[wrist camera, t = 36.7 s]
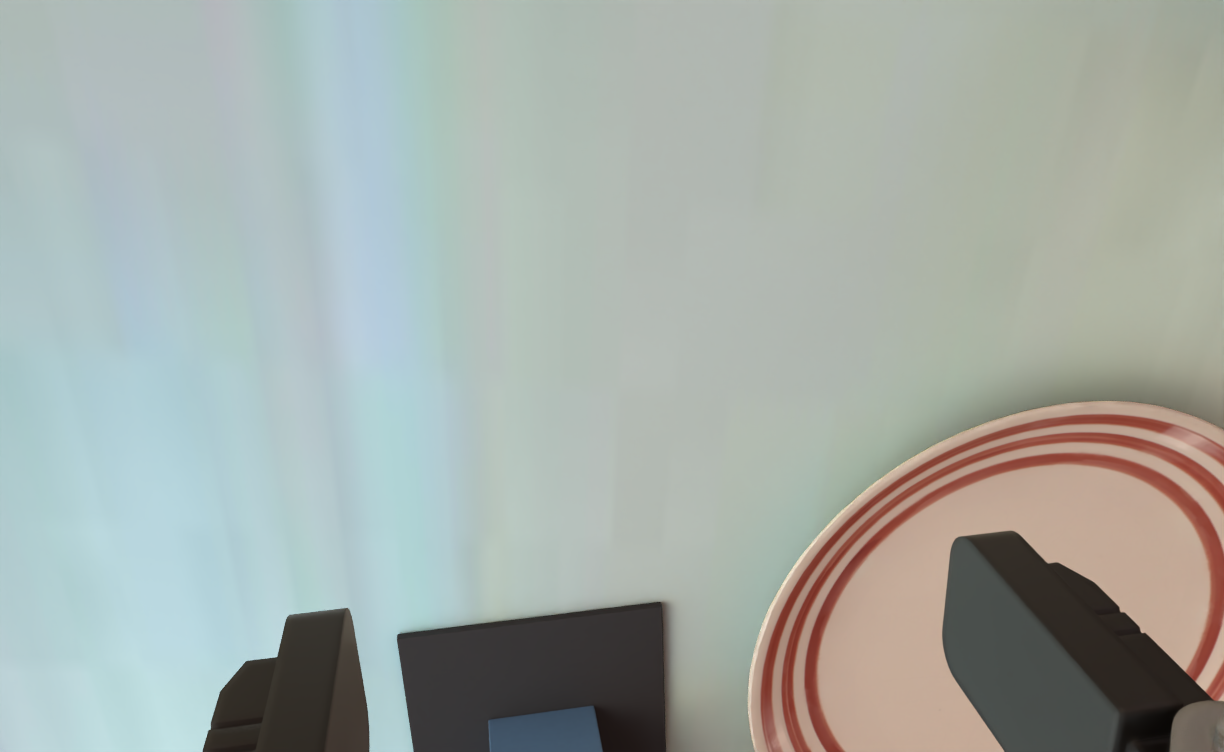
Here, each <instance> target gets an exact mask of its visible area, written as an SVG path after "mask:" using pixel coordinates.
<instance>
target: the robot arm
mask: <svg viewBox="0 0 1224 752" xmlns="http://www.w3.org/2000/svg"><path fill="white" fill-rule="evenodd" d="M942 641H943V649H944V654H945V658H946V661H947V664H948V667H949V669H950V672H951V674H952V676H953V677H954V679H955V681H956V682H957V684H958V685H959V686H960V688H961V689H962V691H963V692H964V694H965V695H966V697H967V698H968V699H969V701H970V702H971V704H972V705H973V707H974V708H975V710H976V711H977V712H978V714H979V715H980V717H981V718H982V720H983V721H984V723H985V724H986V725H987V727H988V728H989V730H990V731H991V733H992V734H993V736H994V737H995V739H996V740H997V741H998V743H999V744H1000V746H1001V747H1002V749H1003V750H1004V752H1224V701H1214V700H1213V699H1212V698H1211V697H1210V696H1209V695H1208V694H1207V693H1206V692H1205V691H1204V690H1203V689H1202V688H1201V687H1200V686H1199V685H1198V684H1197V683H1196V682H1195V681H1194V680H1193V679H1192V678H1191V677H1190V676H1189V675H1188V674H1187V673H1186V672H1185V671H1184V670H1183V669H1182V668H1181V667H1180V666H1179V665H1178V664H1177V663H1176V662H1175V661H1174V660H1173V659H1172V658H1171V657H1170V656H1169V655H1168V654H1167V653H1166V652H1165V651H1164V650H1163V649H1162V648H1161V647H1160V646H1158V645H1157V644H1156V643H1155V642H1154V641H1153V640H1152V639H1151V638H1150V637H1149V636H1148V635H1147V634H1146V633H1141V631H1140V627H1139V626H1138V625H1137V624H1136V623H1135V622H1134V621H1133V620H1132V619H1131V618H1130V617H1129V616H1128V615H1127V614H1126V613H1125V612H1120V607H1119V606H1118V605H1117V604H1116V603H1115V602H1114V601H1113V600H1112V599H1111V598H1110V597H1109V596H1108V595H1107V594H1106V593H1105V592H1104V591H1103V590H1102V589H1101V588H1100V587H1099V586H1098V585H1097V584H1096V583H1095V582H1093V581H1091V580H1089V579H1088V578H1086V577H1084V576H1082V575H1080V574H1078V573H1077V572H1075V571H1073V570H1071V569H1069V568H1068V567H1066V566H1064V565H1062V564H1060V563H1058V562H1055V563H1047V562H1046V561H1045V560H1044V559H1043V558H1042V557H1041V556H1040V555H1039V554H1038V553H1037V552H1036V551H1035V550H1034V549H1033V548H1032V547H1031V546H1030V545H1029V544H1028V543H1027V542H1026V541H1025V539H1024V538H1023V537H1022V536H1021V535H1019V534H1018V533H1017V532H1015V531H1011V530H1010V531H1001V532H993V533H985V534H976V535H968V536H960V537H957V538H956V539H955V540H954V542H953V544H952V547H951V551H950V559H949V569H948V579H947V588H946V598H945V608H944V617H943V627H942ZM203 752H369V721H368V711H367V703H366V697H365V691H364V685H363V679H362V673H361V667H360V661H359V656H358V650H357V644H356V638H355V632H354V626H353V620H352V616H351V613H350V610H349V609H348V608H344V609H335V610H327V611H318V612H310V613H302V614H293V615H289V616H288V617H287V619H286V622H285V627H284V631H283V635H282V639H281V644H280V648H279V652H278V657H276V658H268V659H260V660H252V661H246V662H245V663H244V664H243V666H242V667H241V668H240V669H239V670H238V671H237V673H236V674H235V675H234V676H233V677H232V678H231V680H230V681H229V682H228V683H227V684H226V685H225V687H224V688H223V689H222V690H221V691H220V694H219V698H218V701H217V704H216V708H215V711H214V714H213V718H212V721H211V730H209V731H208V734H207V738H206V741H205V745H204V748H203Z"/></svg>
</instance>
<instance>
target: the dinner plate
mask: <svg viewBox="0 0 1224 752" xmlns="http://www.w3.org/2000/svg"><path fill="white" fill-rule="evenodd" d="M1010 530H1011V531H1015V532H1017V533H1018V534H1019V535H1021V536H1022V537H1023V538H1024V539H1025V541H1026V542H1027V543H1028V544H1029V545H1030V546H1031V547H1032V548H1033V549H1034V550H1035V551H1036V552H1037V553H1038V554H1039V555H1040V556H1041V557H1042V558H1043V559H1044V560H1045V561H1046V562H1047V563H1055V562H1058V563H1060V564H1062V565H1064V566H1066V567H1068V568H1069V569H1071V570H1073V571H1075V572H1077V573H1078V574H1080V575H1082V576H1084V577H1086V578H1088V579H1089V580H1091V581H1093V582H1095V583H1096V584H1097V585H1098V586H1099V587H1100V588H1101V589H1102V590H1103V591H1104V592H1105V593H1106V594H1107V595H1108V596H1109V597H1110V598H1111V599H1112V600H1113V601H1114V602H1115V603H1116V604H1117V605H1118V606H1119V607H1120V612H1125V613H1126V614H1127V615H1128V616H1129V617H1130V618H1131V619H1132V620H1133V621H1134V622H1135V623H1136V624H1137V625H1138V626H1139V627H1140V631H1141V633H1146V634H1147V635H1148V636H1149V637H1150V638H1151V639H1152V640H1153V641H1154V642H1155V643H1156V644H1157V645H1158V646H1160V647H1161V648H1162V649H1163V650H1164V651H1165V652H1166V653H1167V654H1168V655H1169V656H1170V657H1171V658H1172V659H1173V660H1174V661H1175V662H1176V663H1177V664H1178V665H1179V666H1180V667H1181V668H1182V669H1183V670H1184V671H1185V672H1186V673H1187V674H1188V675H1189V676H1190V677H1191V678H1192V679H1193V680H1194V681H1195V682H1196V683H1197V684H1198V685H1199V686H1200V687H1201V688H1202V689H1203V690H1204V691H1205V692H1206V693H1207V694H1208V695H1209V696H1210V697H1211V698H1212V699H1213V700H1214V701H1224V429H1222V428H1220V427H1218V426H1216V425H1214V424H1212V423H1210V422H1208V421H1205V420H1203V419H1200V418H1198V417H1195V416H1193V415H1190V414H1186V413H1183V412H1180V411H1176V410H1173V409H1170V408H1166V407H1161V406H1157V405H1152V404H1144V403H1136V402H1126V401H1085V402H1072V403H1064V404H1057V405H1051V406H1046V407H1041V408H1036V409H1031V410H1026V411H1022V412H1019V413H1015V414H1012V415H1008V416H1005V417H1002V418H998V419H995V420H991V421H989V422H986V423H983V424H981V425H978V426H976V427H973V428H970V429H968V430H965V431H963V432H961V433H958V434H956V435H954V436H952V437H950V438H948V439H946V440H944V441H941V442H939V443H937V444H935V445H933V446H931V447H930V448H928V449H926V450H924V451H922V452H921V453H919V454H917V455H915V456H913V457H912V458H910V459H908V460H907V461H905V462H904V463H902V464H901V465H899V466H898V467H896V468H895V469H893V470H892V471H890V472H889V473H887V474H886V475H885V476H883V477H882V478H880V479H879V480H878V481H876V482H875V483H873V484H872V485H871V486H870V487H869V488H867V489H866V490H865V491H864V492H863V493H862V494H860V495H859V496H858V497H857V498H856V499H855V500H854V501H853V502H852V503H850V504H849V505H847V506H846V507H845V508H844V509H843V510H842V511H841V512H840V513H839V514H838V515H837V516H836V517H835V518H834V519H833V520H832V521H831V522H830V523H829V524H828V525H827V526H826V527H825V528H824V529H823V530H822V532H821V533H820V534H819V535H818V536H817V537H816V539H815V540H814V541H813V542H812V543H811V544H810V546H809V547H808V548H807V549H806V550H805V552H804V553H803V554H802V555H801V557H800V558H799V559H798V561H797V562H796V564H795V565H794V567H793V568H792V569H791V571H790V572H789V574H788V576H787V577H786V579H785V580H784V582H783V584H782V586H781V587H780V589H779V591H778V592H777V594H776V596H775V598H774V600H773V602H772V603H771V605H770V607H769V609H768V612H767V614H766V617H765V619H764V621H763V624H762V627H761V630H760V633H759V636H758V639H757V642H756V646H755V649H754V655H753V659H752V663H751V667H750V674H749V684H748V716H749V725H750V732H751V737H752V742H753V746H754V750H755V752H1004V750H1003V749H1002V747H1001V746H1000V744H999V743H998V741H997V740H996V739H995V737H994V736H993V734H992V733H991V731H990V730H989V728H988V727H987V725H986V724H985V723H984V721H983V720H982V718H981V717H980V715H979V714H978V712H977V711H976V710H975V708H974V707H973V705H972V704H971V702H970V701H969V699H968V698H967V697H966V695H965V694H964V692H963V691H962V689H961V688H960V686H959V685H958V684H957V682H956V681H955V679H954V677H953V676H952V674H951V672H950V669H949V667H948V664H947V661H946V658H945V654H944V649H943V641H942V627H943V617H944V608H945V598H946V588H947V579H948V569H949V559H950V551H951V547H952V544H953V542H954V540H955V539H956V538H957V537H960V536H968V535H976V534H985V533H993V532H1001V531H1010Z"/></svg>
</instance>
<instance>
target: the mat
mask: <svg viewBox="0 0 1224 752" xmlns="http://www.w3.org/2000/svg"><path fill="white" fill-rule="evenodd" d="M397 642H398V649H399V656H400V662H401V669H402V676H403V682H404V689H405V696H406V703H407V709H408V716H409V723H410V729H411V736H412V743H413V749H414V752H490V742H489V724H488V721H489V720H490V719H498V718H505V717H512V716H520V715H527V714H534V713H542V712H549V711H557V710H564V709H571V708H579V707H586V706H594V708H595V713H596V718H597V723H598V729H599V734H600V739H601V744H602V749H603V752H666V740H665V701H664V662H663V623H662V605H661V602H657V603H649V604H640V605H632V606H624V607H616V608H608V609H600V610H592V611H584V612H575V613H567V614H559V615H551V616H543V617H535V618H527V619H519V620H511V621H502V622H494V623H486V624H478V625H470V626H462V627H454V628H446V629H437V630H429V631H421V632H413V633H405V634H398V635H397Z"/></svg>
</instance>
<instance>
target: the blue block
mask: <svg viewBox="0 0 1224 752" xmlns="http://www.w3.org/2000/svg"><path fill="white" fill-rule="evenodd" d="M488 724H489V742H490V752H603V749H602V744H601V739H600V734H599V729H598V723H597V718H596V713H595V708H594V706H586V707H579V708H571V709H564V710H557V711H549V712H542V713H534V714H527V715H520V716H512V717H505V718H498V719H490V720H489V721H488Z"/></svg>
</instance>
